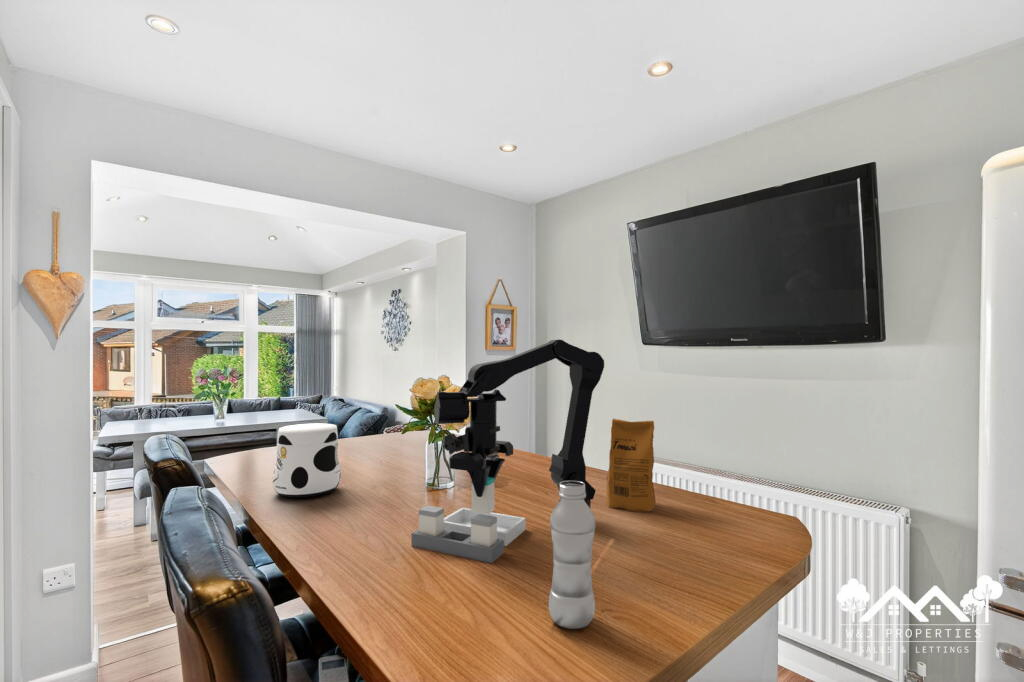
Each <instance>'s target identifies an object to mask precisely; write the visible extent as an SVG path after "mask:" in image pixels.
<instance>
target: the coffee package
mask: <svg viewBox="0 0 1024 682" xmlns="http://www.w3.org/2000/svg"><path fill="white" fill-rule="evenodd" d="M654 432H655V422H654V420H641V421H640V420H639V421H628V420H622V419H618V418H614V417H613V418H612V420H611V427H610V449H609V455H608V456H609V462H608V463H609V464H608V472H607V474H606V504H607V507H608V508H610V507H611V509H612V508H615V509H618V508H619V509H625V510H627V511H629V512H652V511H653V510H654V507H655V506H656V504H657V501H656V500H657V499H656V493H655V487H654V482H653V478H654V473H653V470H654V464H655V457H654V455H655V454H654V453H655V452H654V446H653V445H654Z"/></svg>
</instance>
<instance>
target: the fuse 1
mask: <svg viewBox="0 0 1024 682" xmlns="http://www.w3.org/2000/svg"><path fill="white" fill-rule="evenodd" d="M444 518H445V508H444V507H439V506H433V505H428V504H427V505H425V506H423V507H421V508H419V509H418V529H419V533H422V534H427V535H432V536H437V535H439V534H441V533H442V532H444Z"/></svg>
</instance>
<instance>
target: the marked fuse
mask: <svg viewBox="0 0 1024 682" xmlns="http://www.w3.org/2000/svg"><path fill="white" fill-rule="evenodd" d="M470 480H471V479H470ZM470 484H471V486H470V487H471V490H470V491H471V492H470V493H471V495H470V496H471V497H470V498H471V501H470V502H471V503H470V504H471V507H470V509H471V512H477V513H483V514H489V513H491V512H492V513H493V511H495V481H494V478H493V477H488V478H487V481H486V485H485V489H484V492H483V495H482V497H477V495H476V492H475V489H474V486H473V483H472V480H471V483H470Z"/></svg>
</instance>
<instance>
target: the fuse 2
mask: <svg viewBox="0 0 1024 682" xmlns="http://www.w3.org/2000/svg"><path fill="white" fill-rule="evenodd" d="M496 542H497V517H495V516H489V515H483V514H478V515H476V516H474V517H473V518H471V543H472V544H477V545H482V546H487V547H491V546H492V545H494V544H495V543H496Z"/></svg>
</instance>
